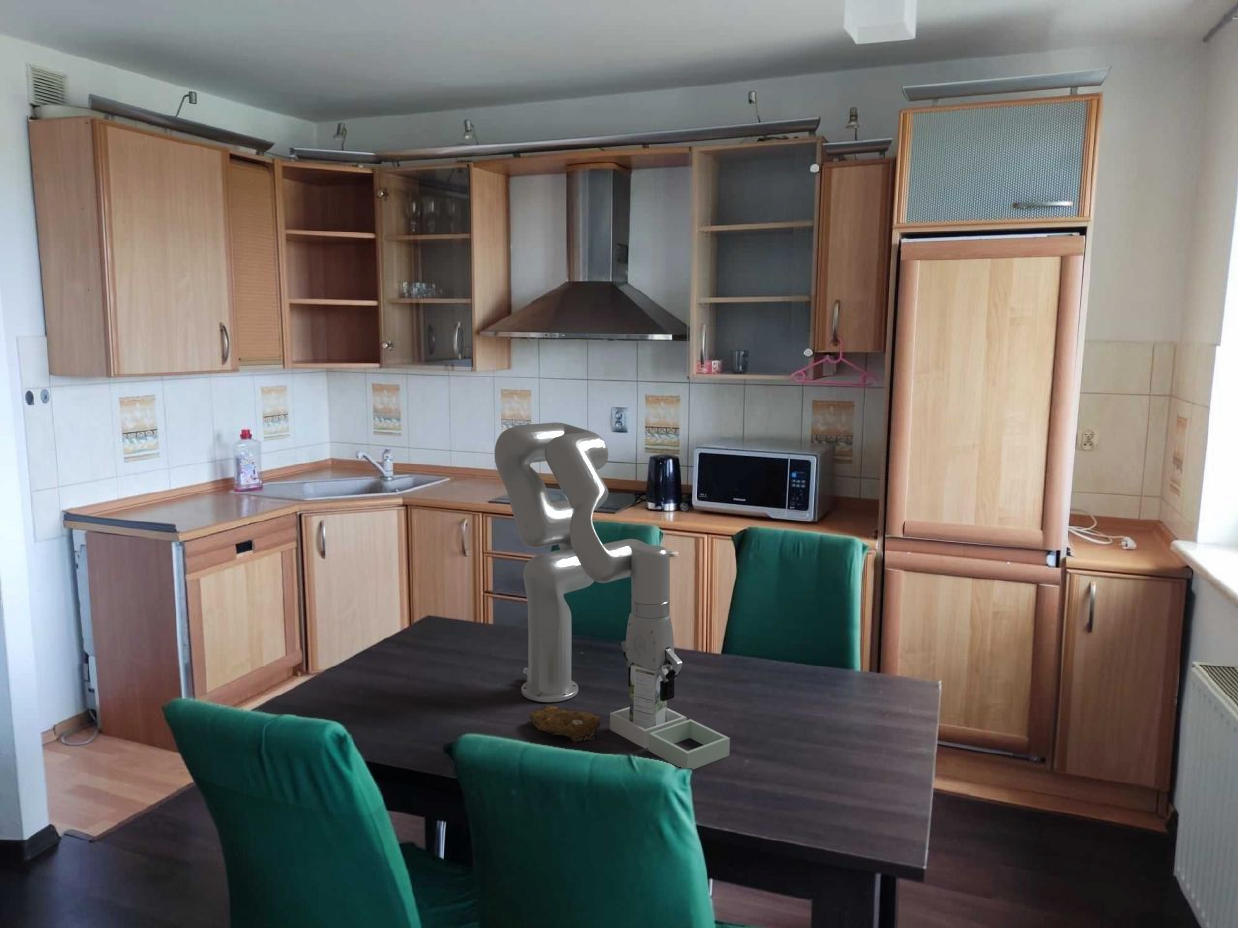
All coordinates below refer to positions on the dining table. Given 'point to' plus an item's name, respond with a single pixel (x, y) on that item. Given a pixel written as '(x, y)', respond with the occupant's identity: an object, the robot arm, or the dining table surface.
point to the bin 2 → (710, 752)
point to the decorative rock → (566, 722)
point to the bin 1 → (635, 732)
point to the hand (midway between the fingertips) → (651, 692)
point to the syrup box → (646, 698)
